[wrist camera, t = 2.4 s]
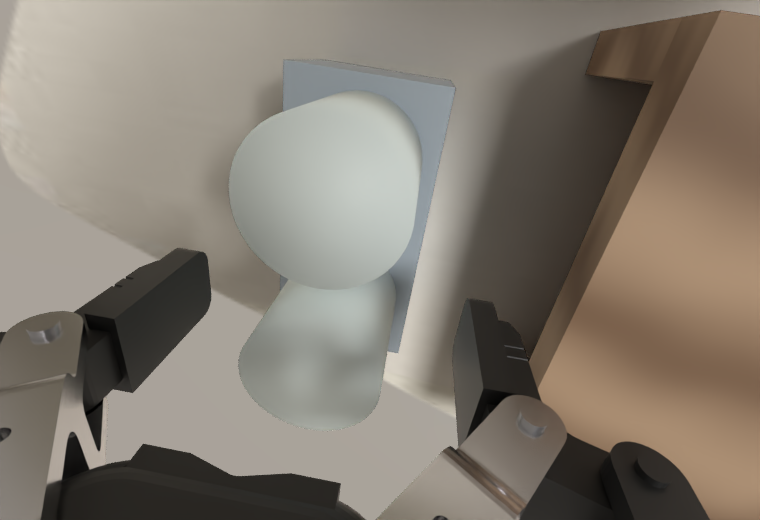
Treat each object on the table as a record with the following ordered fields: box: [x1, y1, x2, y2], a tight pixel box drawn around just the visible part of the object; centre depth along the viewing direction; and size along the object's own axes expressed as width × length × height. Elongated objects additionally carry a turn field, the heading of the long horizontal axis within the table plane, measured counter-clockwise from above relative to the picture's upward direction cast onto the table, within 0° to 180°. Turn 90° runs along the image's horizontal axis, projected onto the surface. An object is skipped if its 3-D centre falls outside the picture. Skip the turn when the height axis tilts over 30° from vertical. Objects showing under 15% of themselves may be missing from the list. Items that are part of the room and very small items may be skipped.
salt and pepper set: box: [229, 60, 456, 431], centre depth 14 cm, size 11×6×10 cm, turn 172°
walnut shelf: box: [527, 10, 760, 520], centre depth 15 cm, size 18×12×7 cm, turn 172°
